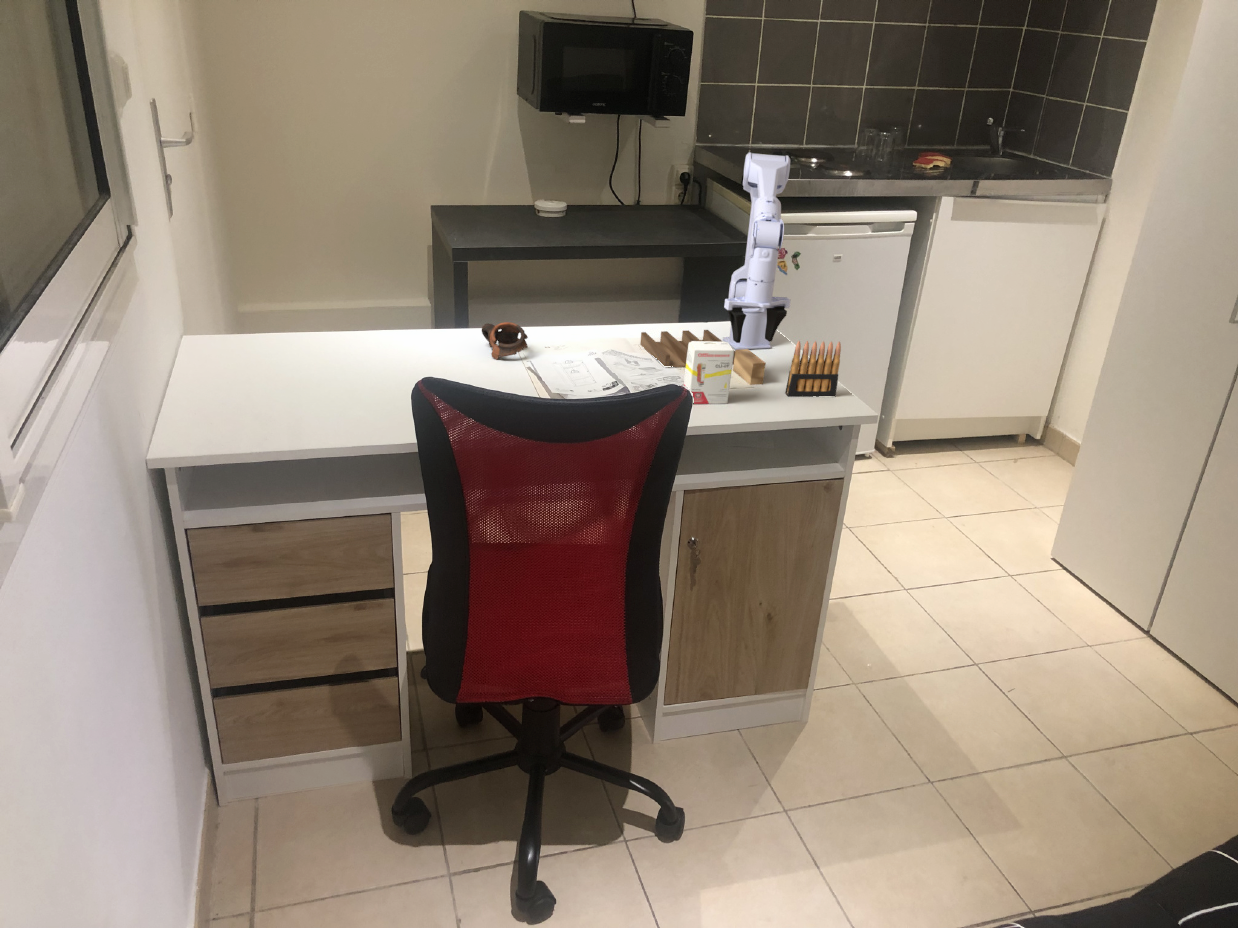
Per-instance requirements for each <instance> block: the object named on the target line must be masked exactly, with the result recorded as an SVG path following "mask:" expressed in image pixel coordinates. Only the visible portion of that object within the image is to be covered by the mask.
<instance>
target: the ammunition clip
mask: <svg viewBox="0 0 1238 928" xmlns="http://www.w3.org/2000/svg"><path fill="white" fill-rule="evenodd" d="M809 344H810V343H809V341H808V340H807V341H806V342H805V344H804V346H803V349H802V348H801V347H802V346H801V341H800V340H798V341H797V343H796V345H795V348H794V352H793V356H792V359H791V365H790V370H789V372H788V373H789V374H788V378H787V383H786V387H785V392H784V394H785V395H786V397H788V398H789V397H790V398H792V397H793V398H796V397H798V398H799V397H800V398H801V397H802V398H806V397H807V398H810V397H811V398H814V397H813V396H816V397H815V398H820V397H819V396H835V395H836V396H837V389H838V382H839V369H840V363H841V359H840V358H841V351H842V348H841V347H842V346H841V342H840V341H838V342H837V344H836V346H835V349H834V343H833V341H832V340H831V341H830V342H829V344H828V346H827V350H826V343H825V341H822V342H821V343H820V346H819V349H818V344H817V341H816V340H815V341H814V342H813V344H812V347H811V349H810V345H809ZM801 349H802V354H801ZM809 350H810V354H809ZM825 351H826V352H825ZM817 352H818V354H817ZM833 352H834V354H833ZM825 353H826V354H825ZM800 357H801V358H800ZM836 396H835V397H836Z"/></svg>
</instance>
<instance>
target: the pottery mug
mask: <svg viewBox="0 0 1238 928" xmlns="http://www.w3.org/2000/svg"><path fill="white" fill-rule="evenodd" d="M481 334H482V335H483V337H484V338H485V340H486V341H487V342H488V345H489V347H490V348H492V351H491V353H490V354H491V357H492V358H493V359H494V360H496V361H497V360H498V359H499V358H503V357H504V358H505V357H509V356H513V355H514V356H515V355H517V353H520V352H521V351H523V350H524V349H526V348H527V349H528V343H527V341H526V340H527V339H529V337H528V335H527V334H526V332H525V330H524V329H523V328H522V326H520V325H519V324H517V323H516V322H515V323H514V322H509V321H505V322H500V323H498V324H496V325H494V324H492V323H484V324H483V325H482V326H481ZM519 335H520V338H519ZM497 343H498V344H497Z"/></svg>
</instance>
